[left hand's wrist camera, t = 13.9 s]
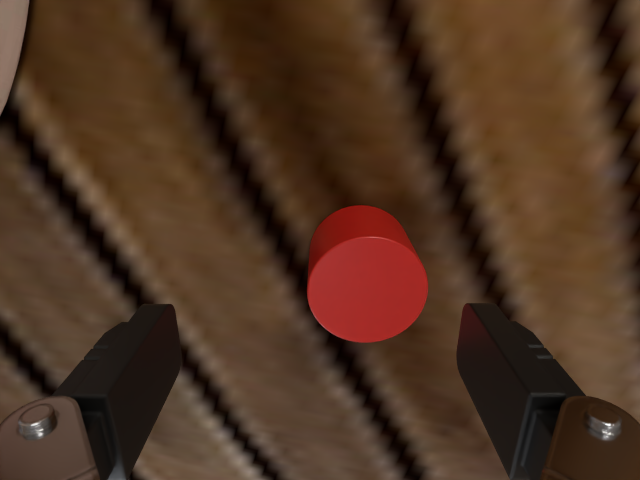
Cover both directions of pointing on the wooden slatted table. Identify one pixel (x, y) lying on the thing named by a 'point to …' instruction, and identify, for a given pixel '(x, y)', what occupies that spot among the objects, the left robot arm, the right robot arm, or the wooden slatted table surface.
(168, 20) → the wooden slatted table surface
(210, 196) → the wooden slatted table surface
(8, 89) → the anatomical model
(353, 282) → the tin
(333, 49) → the wooden slatted table surface
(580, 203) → the wooden slatted table surface
